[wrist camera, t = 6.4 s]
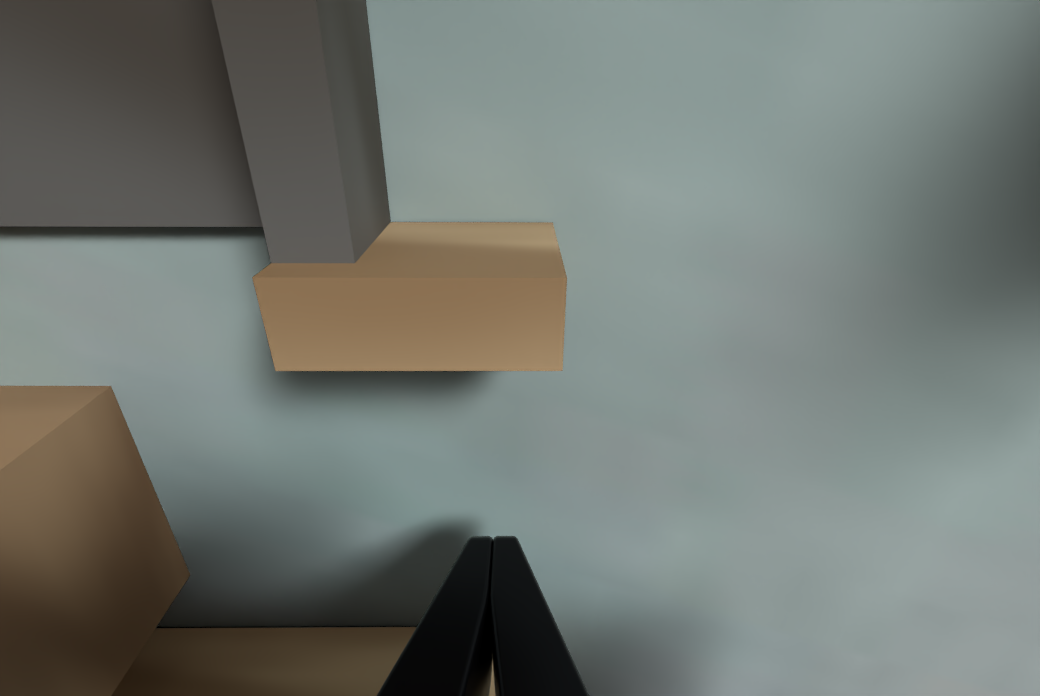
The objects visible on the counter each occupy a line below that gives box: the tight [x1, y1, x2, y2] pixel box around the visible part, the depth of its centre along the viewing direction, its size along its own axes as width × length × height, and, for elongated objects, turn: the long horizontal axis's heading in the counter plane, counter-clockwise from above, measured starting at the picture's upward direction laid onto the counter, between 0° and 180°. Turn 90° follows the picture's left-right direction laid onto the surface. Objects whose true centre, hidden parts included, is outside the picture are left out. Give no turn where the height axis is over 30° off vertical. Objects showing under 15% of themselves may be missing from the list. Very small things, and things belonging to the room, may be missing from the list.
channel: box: [0, 0, 567, 696], centre depth 8 cm, size 18×16×2 cm
